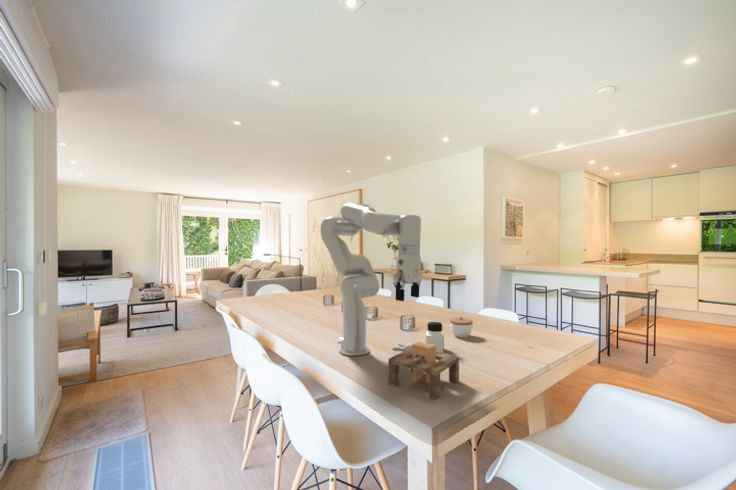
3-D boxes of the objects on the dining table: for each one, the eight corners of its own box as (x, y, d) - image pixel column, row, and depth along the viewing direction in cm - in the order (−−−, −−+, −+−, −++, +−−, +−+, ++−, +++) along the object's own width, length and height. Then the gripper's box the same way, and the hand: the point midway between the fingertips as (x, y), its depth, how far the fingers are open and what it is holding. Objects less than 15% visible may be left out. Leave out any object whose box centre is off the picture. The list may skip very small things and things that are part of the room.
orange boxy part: (412, 378, 106) (412, 344, 106) (418, 374, 109) (418, 341, 109) (430, 383, 102) (429, 348, 102) (436, 379, 105) (435, 345, 105)
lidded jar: (475, 339, 153) (475, 319, 153) (453, 339, 154) (453, 319, 154) (468, 333, 164) (468, 314, 164) (447, 332, 164) (447, 314, 164)
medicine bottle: (443, 353, 133) (443, 324, 133) (426, 352, 134) (426, 323, 134) (443, 348, 140) (443, 320, 140) (426, 347, 141) (426, 319, 141)
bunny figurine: (426, 353, 121) (391, 342, 129) (425, 367, 122) (390, 355, 129) (435, 347, 129) (401, 337, 137) (434, 359, 130) (400, 348, 137)
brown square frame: (388, 383, 104) (388, 355, 104) (414, 368, 117) (414, 343, 117) (436, 399, 94) (436, 367, 94) (458, 380, 106) (458, 353, 106)
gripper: (404, 251, 104) (402, 304, 105) (430, 250, 118) (429, 297, 118) (385, 250, 109) (384, 300, 110) (413, 249, 123) (411, 294, 123)
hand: (407, 298), depth 114 cm, fingers open, 9 cm apart
